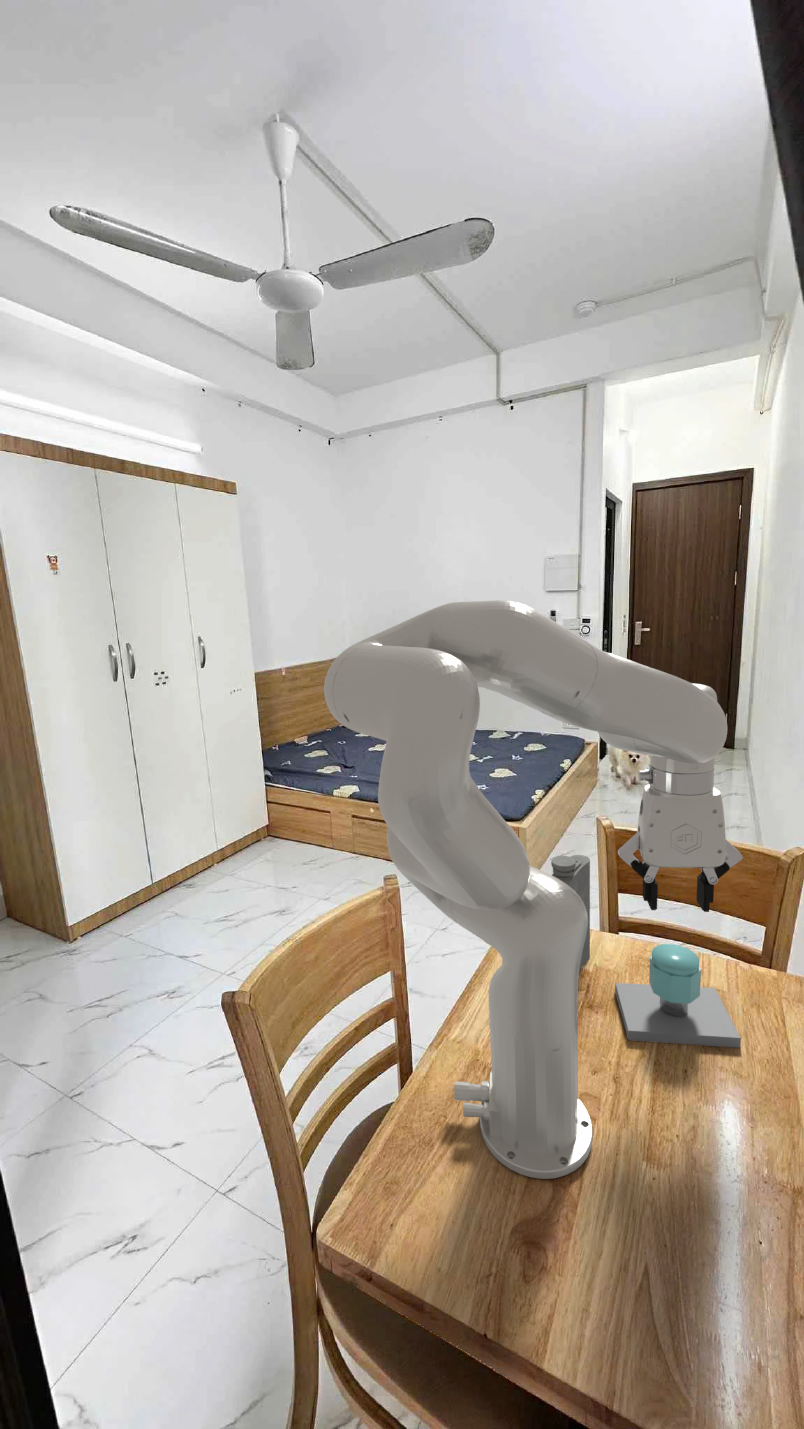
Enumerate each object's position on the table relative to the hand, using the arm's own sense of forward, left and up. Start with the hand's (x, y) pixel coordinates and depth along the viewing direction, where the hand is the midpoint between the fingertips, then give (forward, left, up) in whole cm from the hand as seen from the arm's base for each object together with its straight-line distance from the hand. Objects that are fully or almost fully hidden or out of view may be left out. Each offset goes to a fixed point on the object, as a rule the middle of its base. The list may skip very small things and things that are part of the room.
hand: (676, 904), depth 80 cm
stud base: (0, 0, -18) cm, 18 cm away
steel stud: (0, 0, -16) cm, 16 cm away
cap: (0, 0, -13) cm, 13 cm away
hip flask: (-14, +8, -18) cm, 24 cm away
